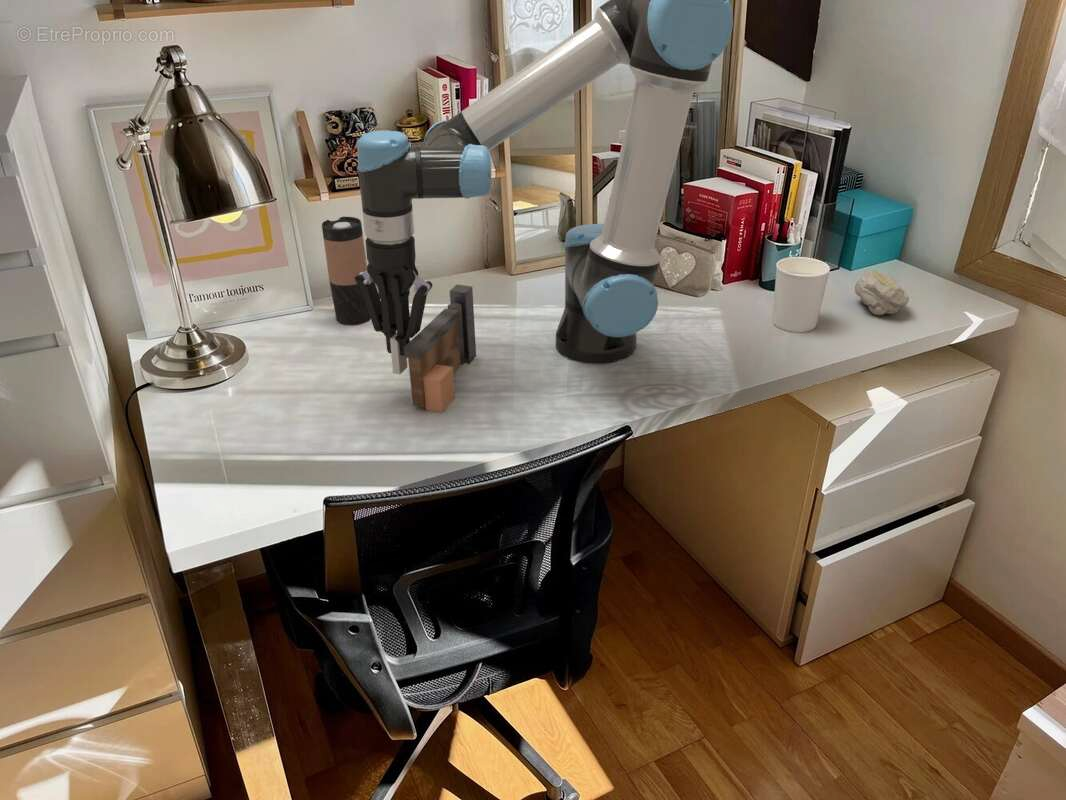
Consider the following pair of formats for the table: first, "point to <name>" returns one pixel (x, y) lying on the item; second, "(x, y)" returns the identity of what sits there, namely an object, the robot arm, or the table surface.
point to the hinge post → (466, 318)
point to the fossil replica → (880, 293)
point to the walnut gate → (435, 349)
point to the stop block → (439, 388)
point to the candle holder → (799, 293)
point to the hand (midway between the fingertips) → (400, 370)
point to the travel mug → (346, 268)
